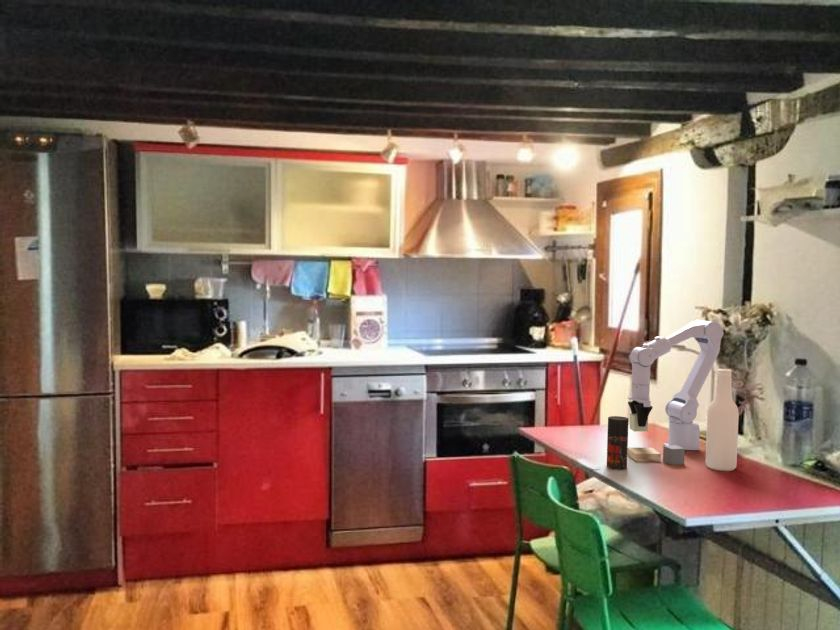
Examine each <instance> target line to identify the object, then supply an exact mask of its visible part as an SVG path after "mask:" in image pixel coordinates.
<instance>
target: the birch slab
mask: <svg viewBox="0 0 840 630" xmlns="http://www.w3.org/2000/svg"><path fill="white" fill-rule="evenodd" d="M627 457H629V458H630V459H632V460H633V461H634V462H662V461H661V460H662V458H661V457H662V454H661V452H659V451H658V450H657V449H654V448H653V447H628V450H627Z"/></svg>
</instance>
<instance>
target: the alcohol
mask: <svg viewBox="0 0 840 630" xmlns="http://www.w3.org/2000/svg"><path fill="white" fill-rule="evenodd" d="M732 372H733V371H732V370H731V369H729V368H719V369H717V373H716V374H717V380H716V388H715V396H714V398H713V400H712V401H711V402H710V403H709V405H708V407H707V409H706V410H707V413H706V414H707V415H706V416H707V418H706V437H705V438H706V439H705V460H704V461H705V465H706V467H707V468H708V469H710V470H714V471H723V472H731V471H734V470H735V469H736V468H737V465H738V464H737V463H738V462H737V460H738V443H739V442H738V440H739V439H738V438H739V419H740V416H739V415H740V414H739V413H740V412H739V407H738V406H737V404H736V403H735V402H734V400H733V392H732V390H733V389H732V387H733V385H732Z"/></svg>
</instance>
